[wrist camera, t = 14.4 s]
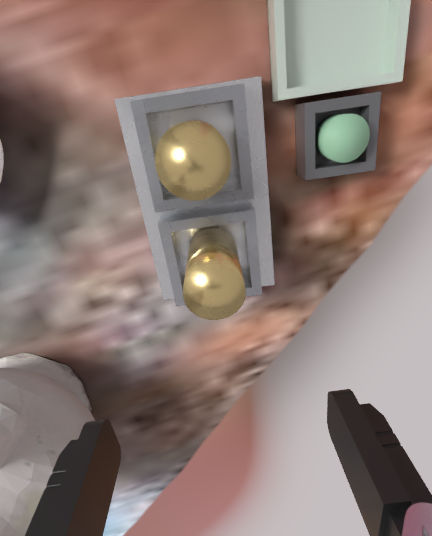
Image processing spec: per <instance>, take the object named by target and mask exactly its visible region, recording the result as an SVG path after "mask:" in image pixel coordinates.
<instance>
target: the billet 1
mask: <svg viewBox="0 0 432 536" xmlns="http://www.w3.org/2000/svg"><path fill="white" fill-rule="evenodd" d="M155 166H156V171H157V174H158V176H159V179H160V181H161V182H162V184H163V185H164V186H165V188H166V189H167V190H168V191H170V192H171V193H172V194H174V195H175V196H177V197H179V198H181V199H185V200H190V201H198V200H204V199H207V198H209V197H211V196H213V195H214V194H216V193H217V192H218V191H219V190H220V189H221V188H222V187H223V186H224V184H225V183H226V181H227V179H228V177H229V174H230V170H231V154H230V150H229V147H228V145H227V143H226V141H225V139H224V138H223V136H222V135H221V134H220V133H219V132H218V131H217V129H216V128H215V127H213V126H212V125H211V124H209V123H207V122H204V121H200V120H191V121H185V122H181V123H179V124H176V125H175V126H173V127H171V128H170V129H169V130H167V131H166V133H165V134H164V135H163V136H162V138H161V139H160V141H159V143H158V146H157V148H156V153H155Z"/></svg>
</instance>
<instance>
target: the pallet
mask: <svg viewBox="0 0 432 536" xmlns="http://www.w3.org/2000/svg"><path fill="white" fill-rule="evenodd" d="M114 100H115V104H116V108H117V112H118V116H119V120H120V124H121V128H122V132H123V136H124V140H125V145H126V149H127V153H128V157H129V161H130V165H131V169H132V173H133V177H134V181H135V185H136V189H137V194H138V198H139V202H140V206H141V210H142V214H143V218H144V222H145V226H146V230H147V234H148V238H149V242H150V247H151V251H152V255H153V259H154V263H155V267H156V271H157V275H158V279H159V283H160V287H161V291H162V295H163V300H166V299H174V298H175V303H176V306H180V305H186V304H185V302H184V298H183V286H184V279H185V272H186V265H187V258H188V251H189V245H190V242H191V240H192V238H193V237H194V236H195V235H196V234H197V233H198V232H200V231H202V230H204V229H208V228H218V229H222V230H224V231H226V232H227V233H229V234H230V235H231V236H232V238H233V239H234V241H235V243H236V247H237V251H238V256H239V261H240V265H241V270H242V274H243V279H244V283H245V288H246V296H245V297H247V296H254V295H262V286H270V285H275V282H274V267H273V252H272V236H271V221H270V205H269V190H268V175H267V159H266V144H265V128H264V113H263V98H262V82H261V76H259V77H253V78H247V79H240V80H234V81H228V82H221V83H215V84H208V85H202V86H196V87H189V88H183V89H176V90H170V91H164V92H157V93H151V94H145V95H138V96H132V97H125V98H119V99H114ZM191 120H200V121H204V122H207V123H209V124H211V125H212V126H213V127H215V128H216V129H217V131H218V132H219V133H220V134H221V135H222V136H223V138H224V139H225V141H226V143H227V145H228V147H229V150H230V154H231V170H230V174H229V177H228V179H227V181H226V183H225V184H224V186H223V187H222V188H221V189H220V190H219V191H218V192H217V193H216V194H214V195H213V196H211V197H209V198H207V199H204V200H198V201H190V200H185V199H181V198H179V197H177V196H175V195H174V194H172V193H171V192H170V191H168V190H167V189H166V188H165V186H164V185H163V184H162V182H161V181H160V179H159V176H158V174H157V171H156V166H155V153H156V148H157V146H158V143H159V141H160V139H161V138H162V136H163V135H164V134H165V133H166V131H167V130H169V129H170V128H171V127H173V126H175V125H176V124H179V123H181V122H185V121H191Z"/></svg>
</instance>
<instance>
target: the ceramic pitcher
mask: <svg viewBox="0 0 432 536" xmlns="http://www.w3.org/2000/svg"><path fill="white" fill-rule="evenodd" d="M91 410H92V407H91V404H90V402H89V399H88V397H87V394H86V392H85V389H84V387H83V384H82V382H81V381H80V380H79V378H78V377H77V376H76V375H75V374H74V372H73V371H72V370H71V368H70V367H69V366H67V365H64V364H61V363H58V362H55V361H52V360H49V359H46V358H43V357H40V356H37V355H34V354H30V353H22V354H17V355H13V356H8V357H4V358H0V536H25V534H26V531H27V529H28V527H29V524H30V522H31V520H32V517H33V515H34V513H35V510H36V508H37V506H38V503H39V501H40V499H41V496H42V494H43V492H44V489H46V485H47V482H48V480H49V478H50V475H52V471H53V468H54V466H55V464H56V461H57V459H58V457H59V455H60V453H61V452H62V451H63V450H64V448H65V447H66V446H67V444H68V443H69V442H70V441H71V440H76V439H78V438H79V436H80V433H81V430H82V428H83V426H84V424H85V423H86V422H89V421H95V419H94V418H93V416H92V414H91V412H90V411H91Z"/></svg>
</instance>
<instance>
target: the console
mask: <svg viewBox="0 0 432 536" xmlns="http://www.w3.org/2000/svg"><path fill="white" fill-rule="evenodd" d="M380 102H381V91H380V92H374V93H367V94H360V95H354V96H347V97H341V98H334V99H328V100H321V101H315V102H308V103H302V104H296V105H295V135H296V174H297V176H299V177H301V178H302V179H304V180H312V179H319V178H326V177H333V176H339V175H346V174H353V173H360V172H367V171H374V170H375V166H376V153H377V140H378V128H379V115H380ZM336 114H357V115H359V116H361V117H363V118H364V119H365V121H366V122H367V124H368V126H369V130H370V138H369V142H368V145H367V147H366V149H365V150H364V152H363V153H362V154H361V155H360V156H359V157H358V158H356V159H355V160H353V161H350V162H346V163H340V162H336V161H333V160H330V159H327V158H324V157H322V156H321V155H320V154H319V153H318V151H317V149H316V147H315V134H316V131H317V129H318V127H319V125H320V124H321V123H322V122H323V121H324V120H325V119H326V118H328V117H330V116H332V115H336Z"/></svg>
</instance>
